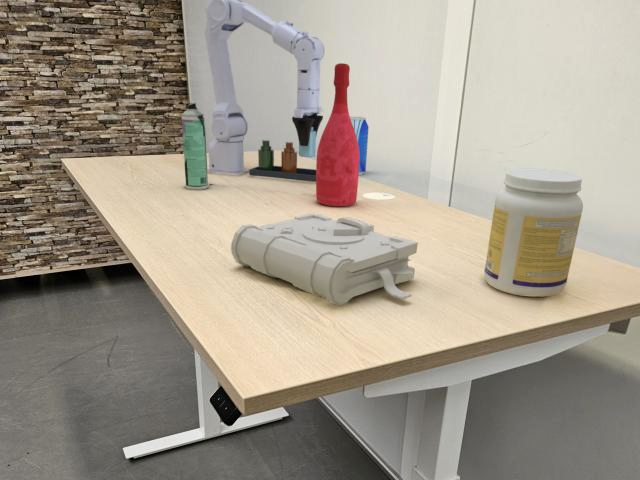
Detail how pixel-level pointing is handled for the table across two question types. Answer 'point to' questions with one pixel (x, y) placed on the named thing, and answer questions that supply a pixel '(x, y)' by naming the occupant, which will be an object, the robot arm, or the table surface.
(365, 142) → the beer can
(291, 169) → the bottle row
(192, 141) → the spray can
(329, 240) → the book
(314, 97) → the robot arm
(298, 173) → the tray
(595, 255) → the table surface
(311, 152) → the blue bottle
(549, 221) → the supplement tub
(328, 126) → the wine bottle
